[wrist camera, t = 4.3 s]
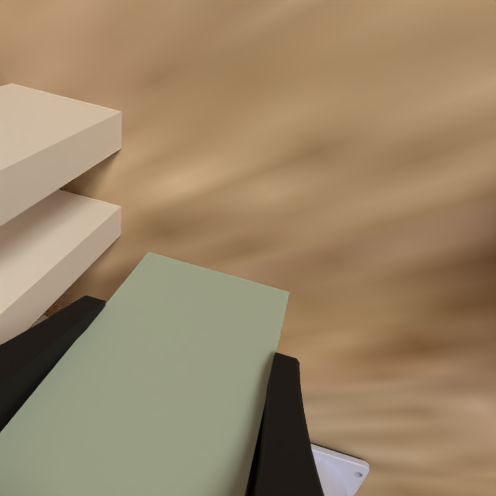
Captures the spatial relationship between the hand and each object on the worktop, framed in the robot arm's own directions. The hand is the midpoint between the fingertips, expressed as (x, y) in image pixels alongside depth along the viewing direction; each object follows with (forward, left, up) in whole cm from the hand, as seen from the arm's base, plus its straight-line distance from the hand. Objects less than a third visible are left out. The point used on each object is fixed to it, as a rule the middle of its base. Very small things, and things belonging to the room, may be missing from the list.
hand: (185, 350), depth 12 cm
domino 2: (-2, +9, -8) cm, 12 cm away
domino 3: (0, 0, -3) cm, 3 cm away
